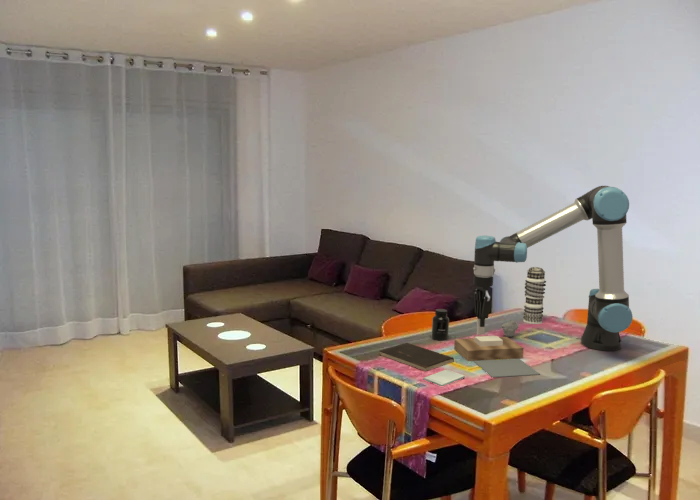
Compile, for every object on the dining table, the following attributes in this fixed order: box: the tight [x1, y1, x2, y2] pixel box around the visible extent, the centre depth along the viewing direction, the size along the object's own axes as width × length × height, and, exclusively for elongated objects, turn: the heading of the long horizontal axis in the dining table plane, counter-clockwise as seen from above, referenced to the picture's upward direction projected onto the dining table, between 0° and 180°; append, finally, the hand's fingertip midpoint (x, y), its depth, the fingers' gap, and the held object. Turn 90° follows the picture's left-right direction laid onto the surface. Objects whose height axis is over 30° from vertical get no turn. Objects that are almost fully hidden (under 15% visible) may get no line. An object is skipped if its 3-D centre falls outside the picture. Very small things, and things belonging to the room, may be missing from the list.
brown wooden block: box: [453, 336, 524, 362], centre depth 234 cm, size 22×14×4 cm, turn 101°
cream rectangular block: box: [474, 335, 503, 347], centre depth 233 cm, size 9×6×2 cm, turn 101°
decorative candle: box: [522, 266, 547, 325], centre depth 277 cm, size 9×9×25 cm
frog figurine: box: [501, 320, 520, 338], centre depth 255 cm, size 6×7×7 cm
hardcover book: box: [379, 342, 455, 372], centre depth 228 cm, size 16×23×2 cm
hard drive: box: [422, 369, 466, 387], centre depth 207 cm, size 2×8×12 cm
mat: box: [473, 358, 541, 378], centre depth 219 cm, size 18×16×1 cm
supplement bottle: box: [431, 308, 450, 341], centre depth 251 cm, size 7×7×12 cm
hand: (480, 333), depth 241 cm, fingers closed
